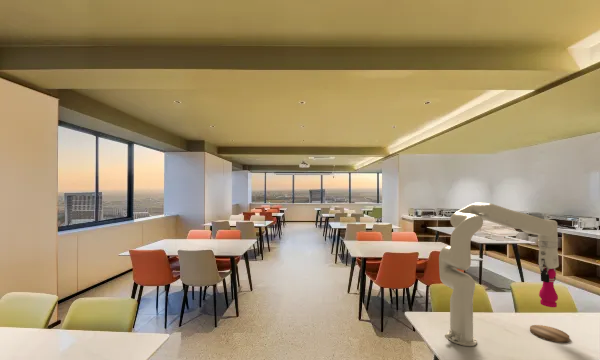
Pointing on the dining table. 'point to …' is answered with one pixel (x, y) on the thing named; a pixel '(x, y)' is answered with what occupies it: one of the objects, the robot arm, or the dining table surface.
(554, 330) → the walnut board
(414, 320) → the dining table surface
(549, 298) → the pepper mill
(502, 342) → the dining table surface
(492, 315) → the dining table surface
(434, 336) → the dining table surface
